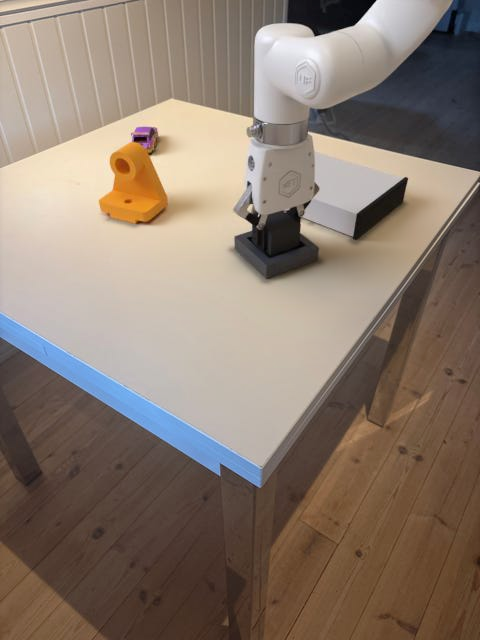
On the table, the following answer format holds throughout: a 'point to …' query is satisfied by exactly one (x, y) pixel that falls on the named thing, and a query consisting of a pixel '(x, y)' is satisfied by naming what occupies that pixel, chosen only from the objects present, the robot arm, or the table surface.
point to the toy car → (146, 137)
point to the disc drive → (352, 195)
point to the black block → (281, 232)
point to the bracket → (133, 186)
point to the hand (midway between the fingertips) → (276, 240)
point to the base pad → (276, 255)
